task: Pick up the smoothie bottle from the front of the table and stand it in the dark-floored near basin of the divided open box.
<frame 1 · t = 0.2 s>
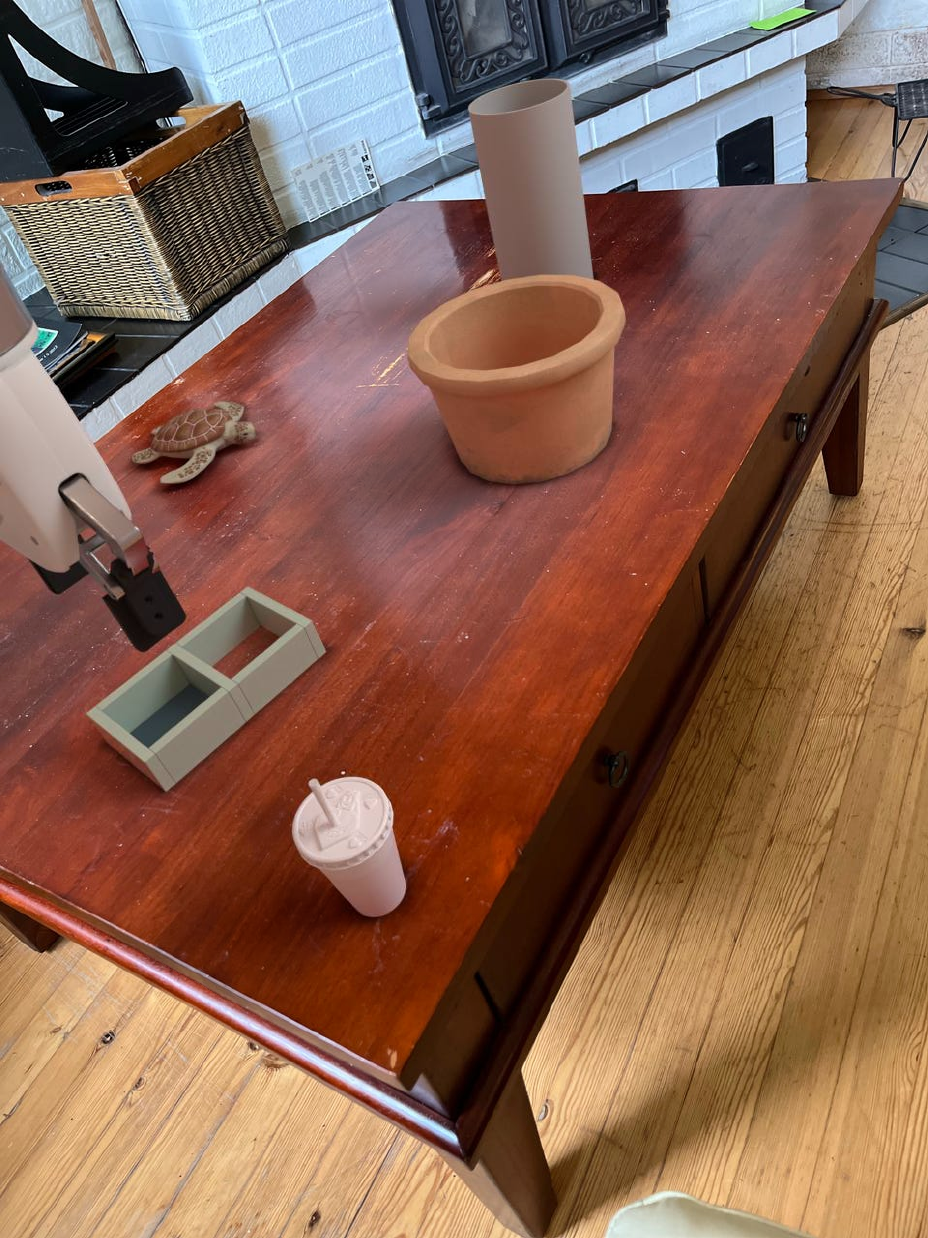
hand: (117, 605, 53), 24 cm above the table, tool pointing down, fingers open, 9 cm apart
pottery: (535, 446, 100), on the table
cylinder vase: (549, 294, 127), on the table
decorative turtle: (204, 450, 116), on the table
divided open box: (222, 703, 81), on the table
smoothie: (382, 898, 63), on the table
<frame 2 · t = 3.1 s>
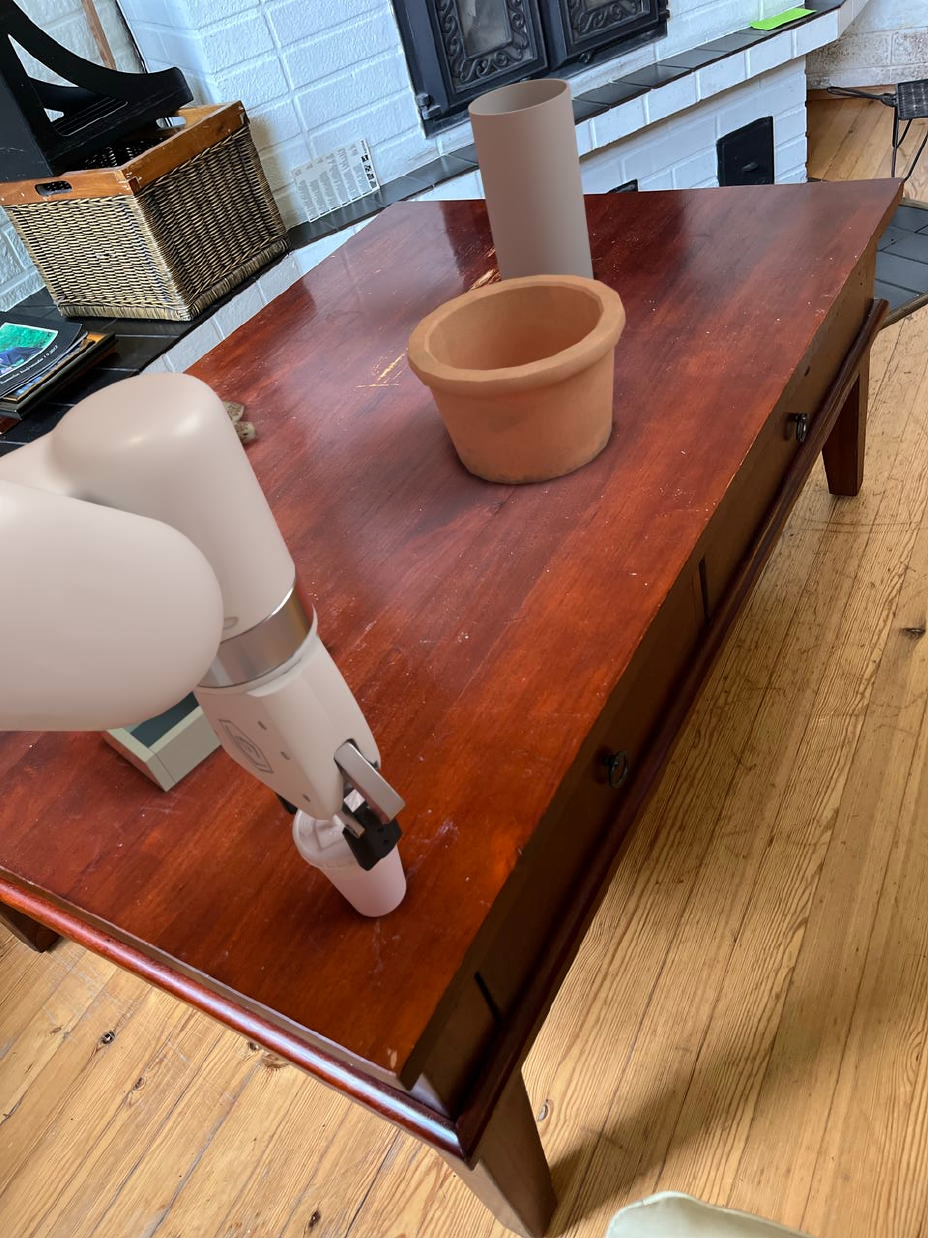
hand: (343, 822, 57), 9 cm above the table, tool pointing down, fingers closed on smoothie, 6 cm apart
smoothie: (382, 898, 63), on the table, touching gripper
everything else where it was.
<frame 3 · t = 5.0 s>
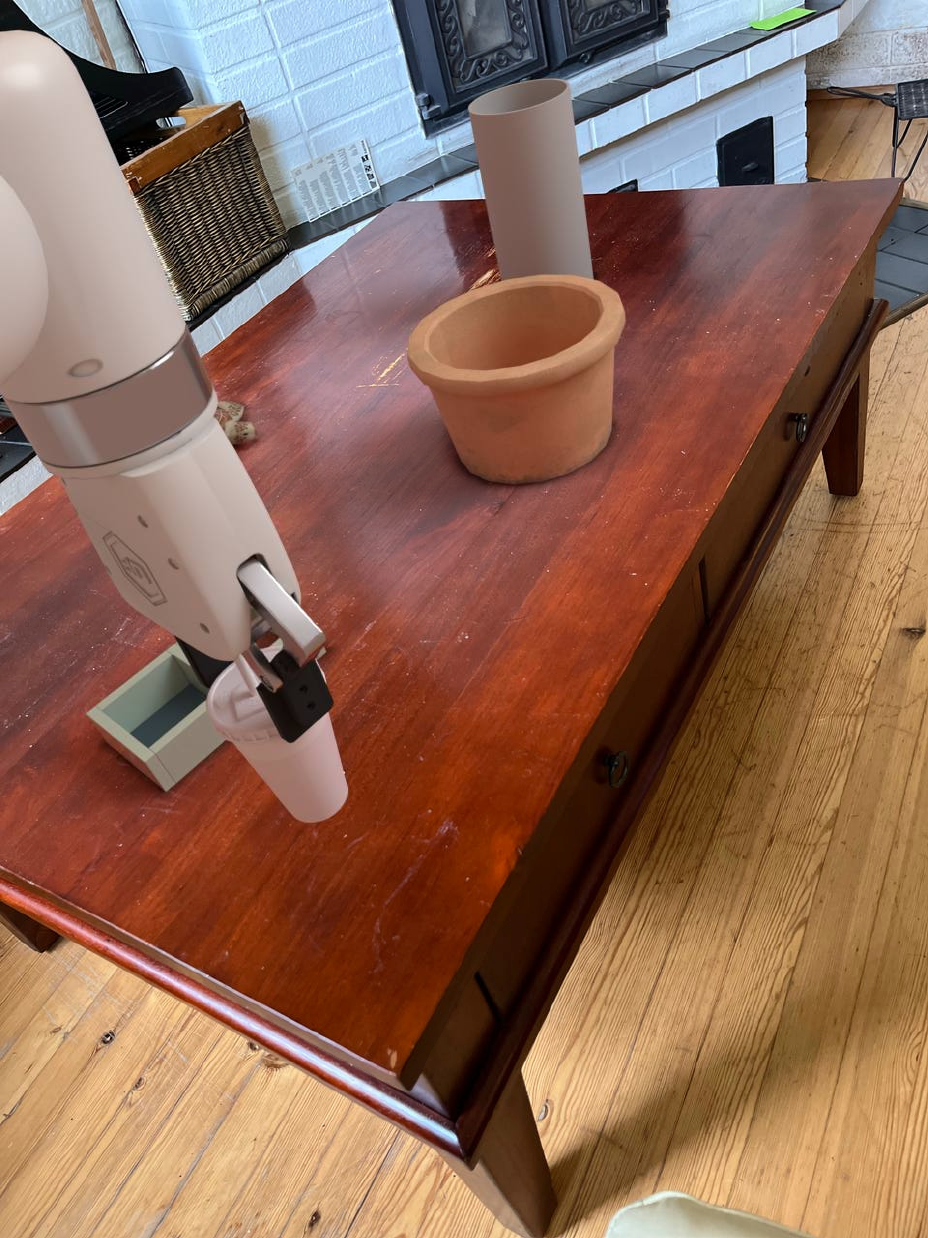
hand: (266, 694, 48), 22 cm above the table, tool pointing down, fingers closed on smoothie, 6 cm apart
smoothie: (319, 798, 55), point 12 cm above the table, touching gripper
everything else where it was.
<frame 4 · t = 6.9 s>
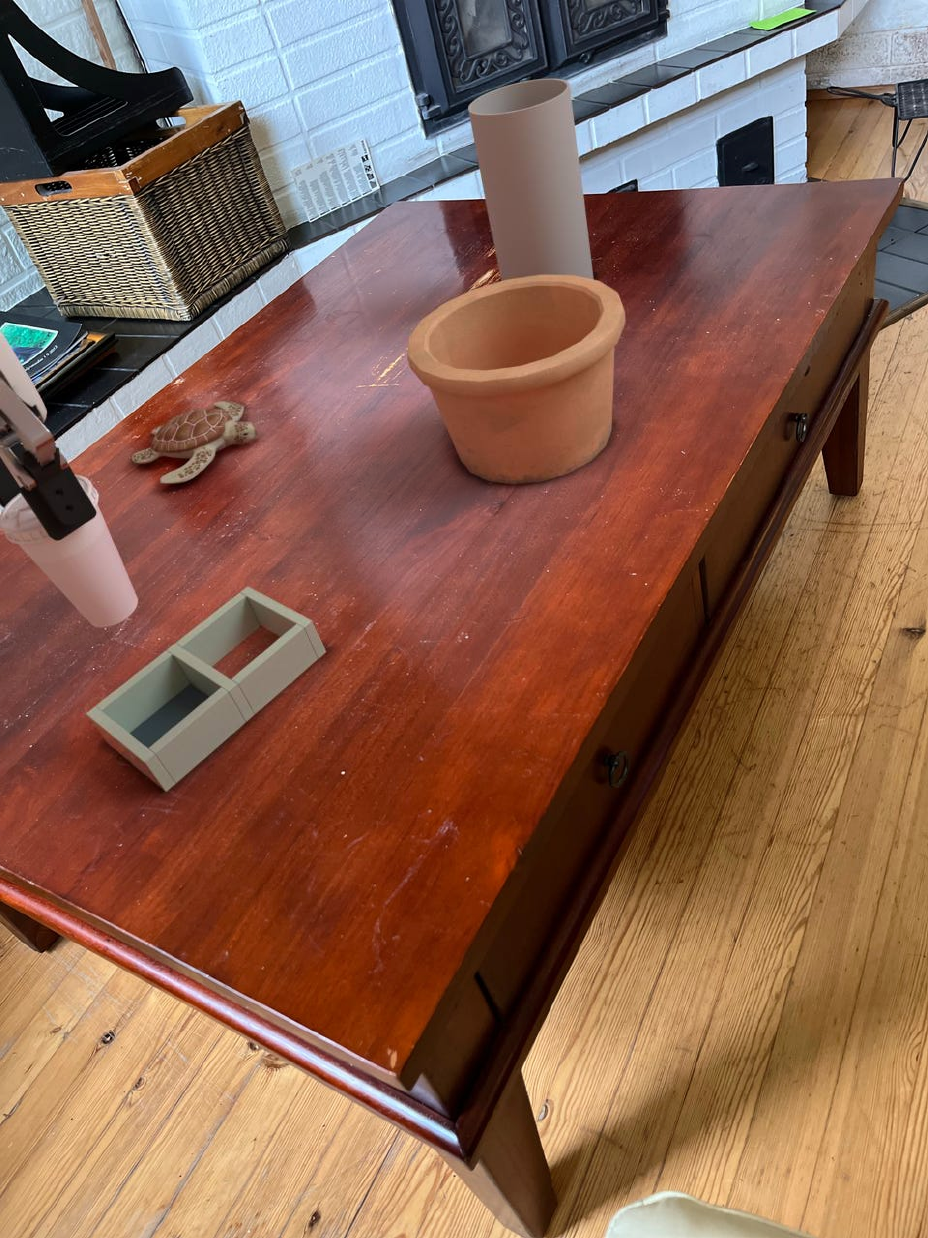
hand: (48, 510, 60), 26 cm above the table, tool pointing down, fingers closed on smoothie, 6 cm apart
smoothie: (114, 611, 66), point 16 cm above the table, touching gripper
everything else where it was.
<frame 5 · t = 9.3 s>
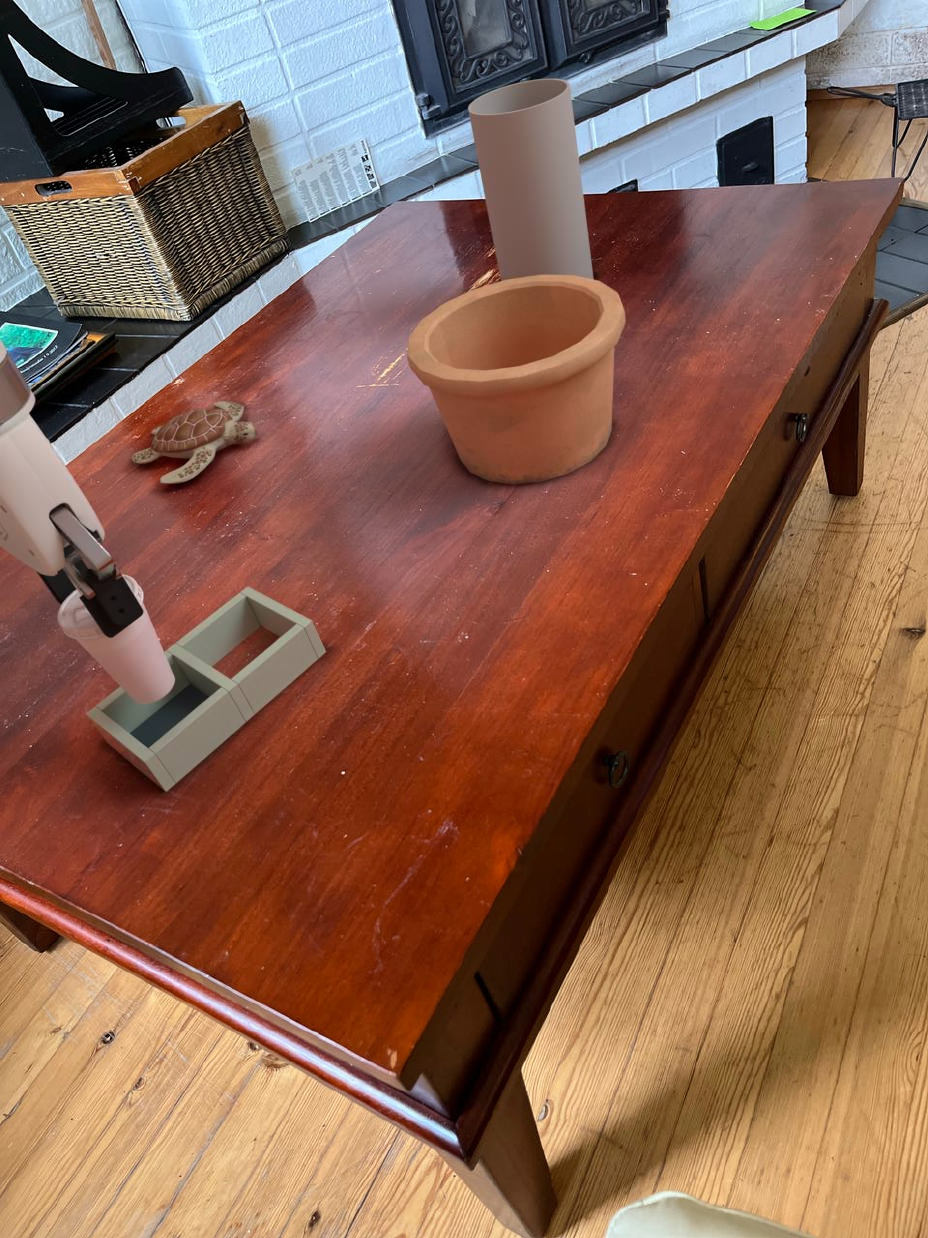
hand: (100, 607, 69), 15 cm above the table, tool pointing down, fingers closed on smoothie, 6 cm apart
smoothie: (154, 688, 75), point 6 cm above the table, touching gripper
everything else where it was.
when the fingers open (10 cm above the table, at t = 11.1 s): smoothie stays where it is, resting on divided open box.
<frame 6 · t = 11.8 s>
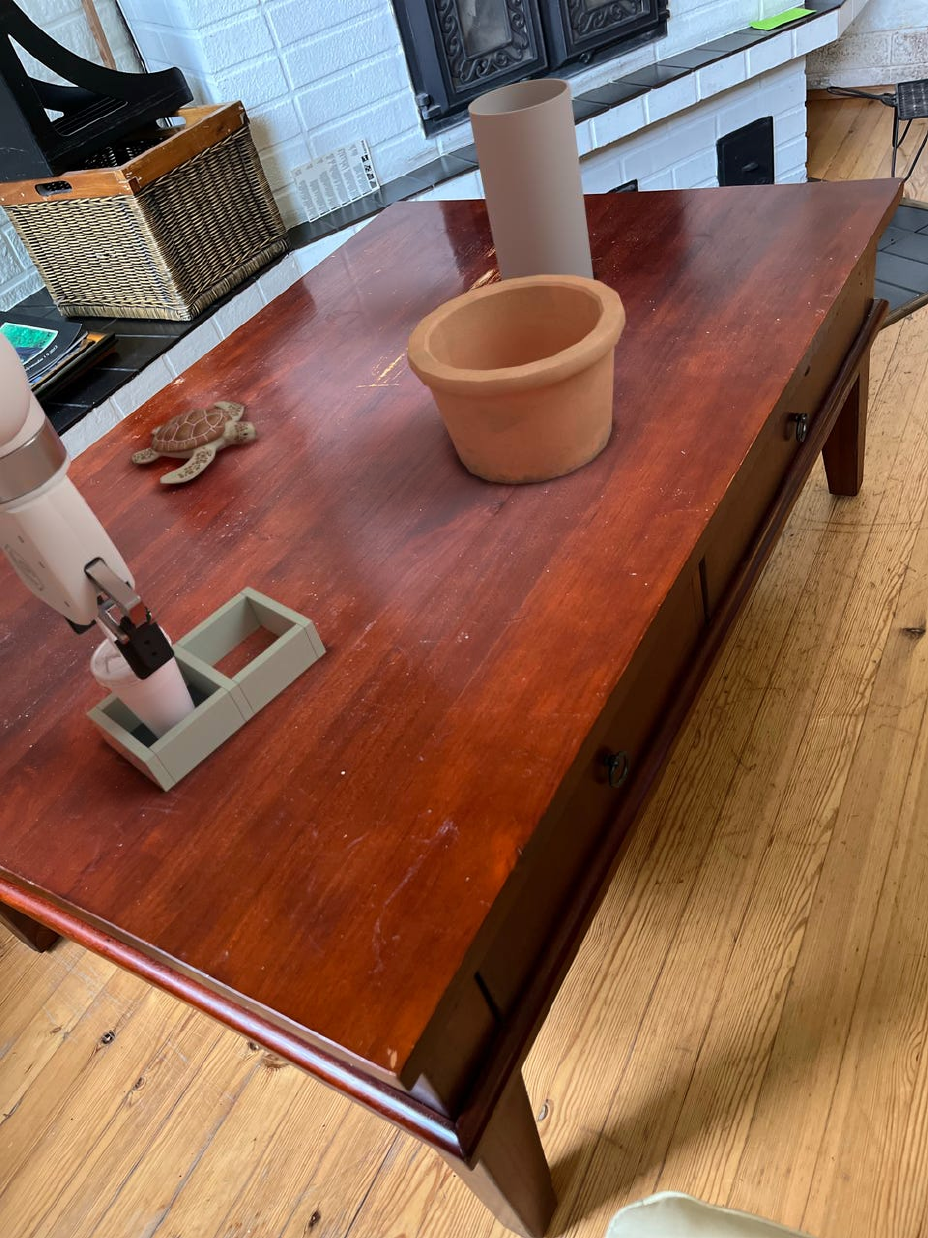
hand: (124, 644, 71), 11 cm above the table, tool pointing down, fingers open, 9 cm apart
smoothie: (180, 729, 78), point 1 cm above the table, touching divided open box
everything else where it was.
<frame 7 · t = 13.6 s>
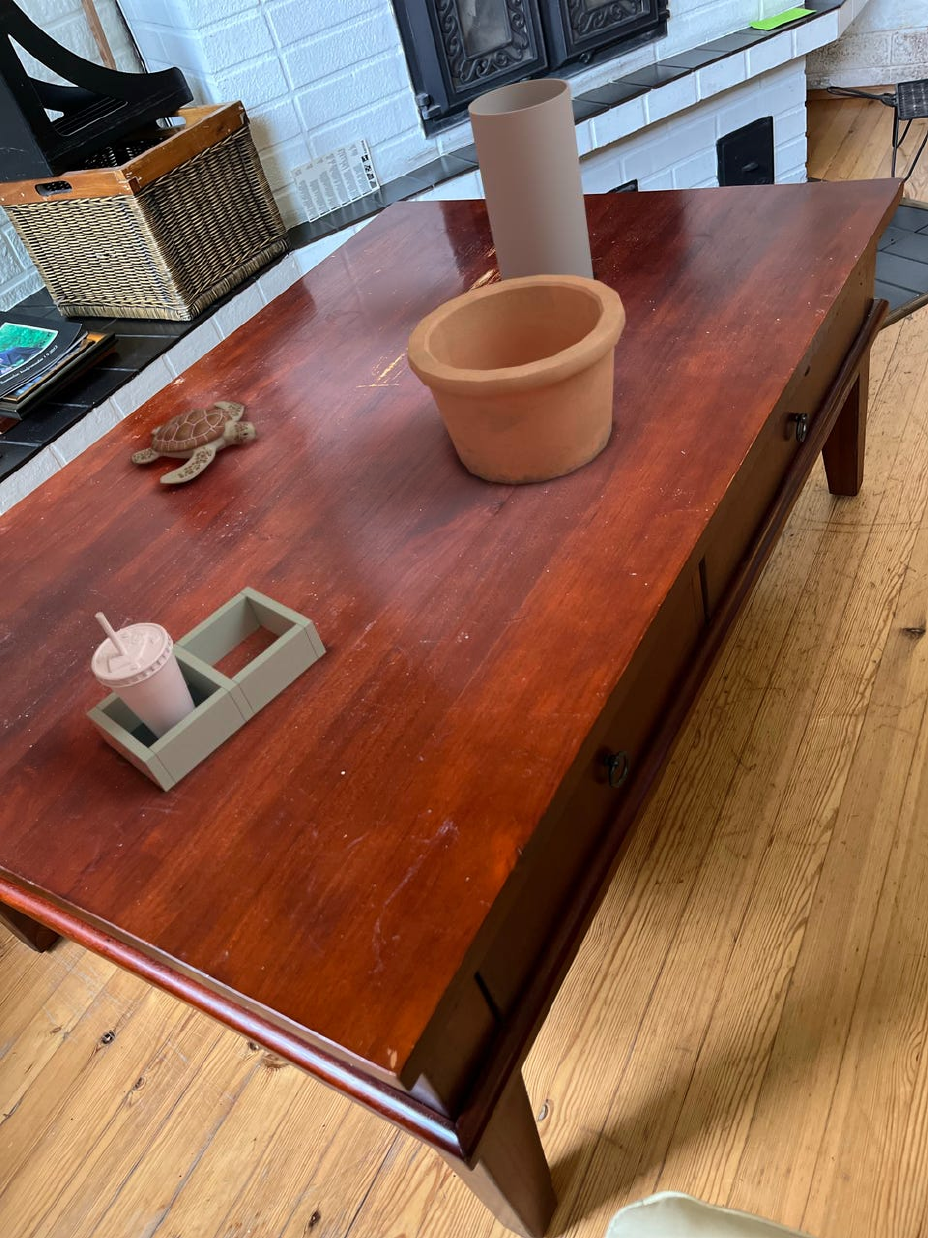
nothing on the table moved.
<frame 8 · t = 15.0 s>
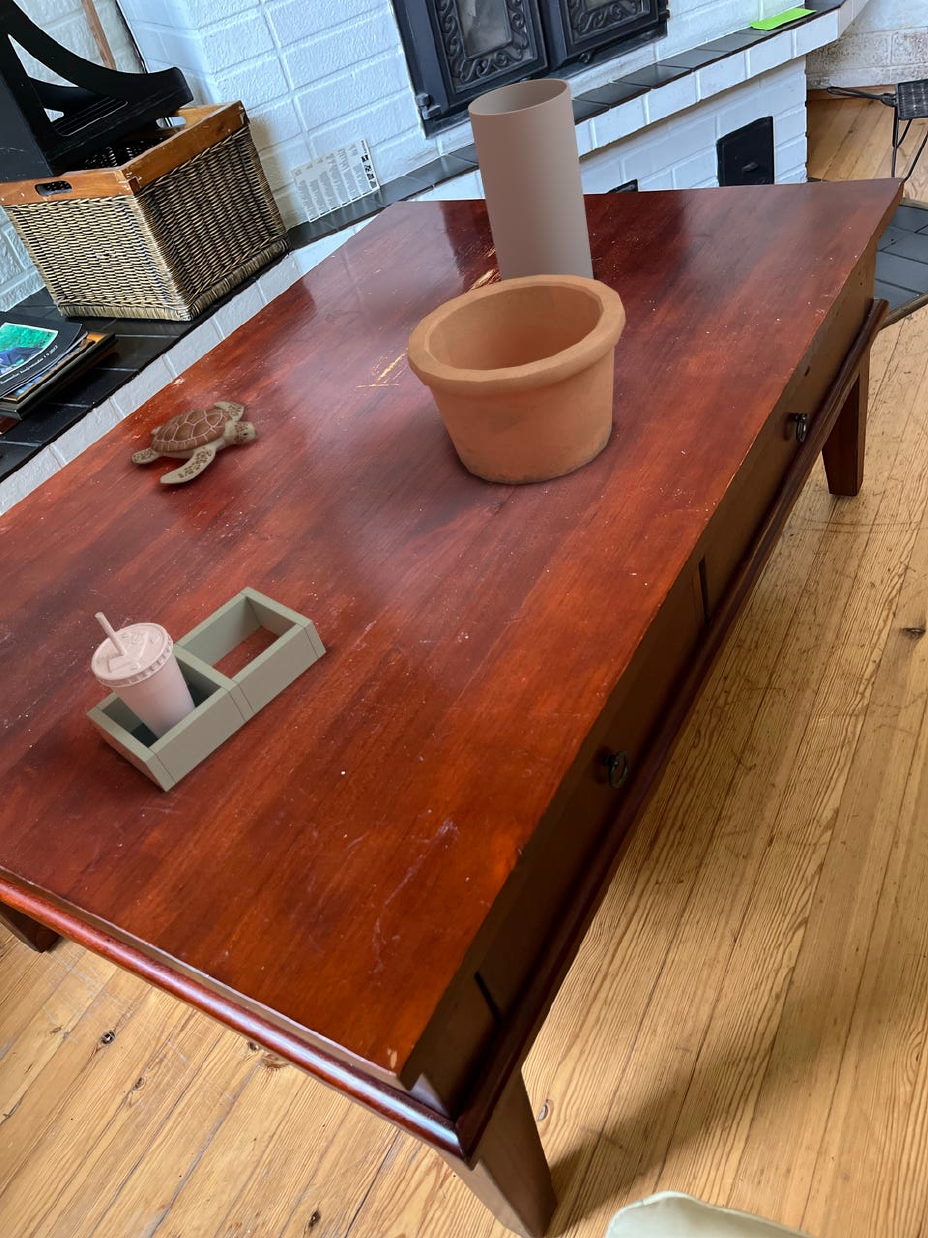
nothing on the table moved.
at the end: smoothie 0.0 cm from the target spot in the divided open box, point 0.8 cm above the divided open box's base; smoothie tilted 0°; the gripper is holding nothing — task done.
